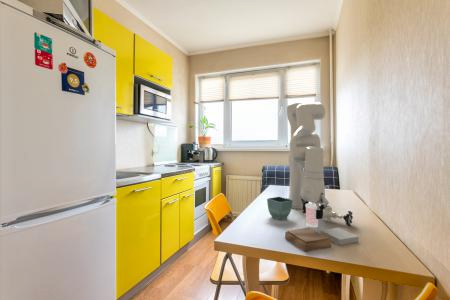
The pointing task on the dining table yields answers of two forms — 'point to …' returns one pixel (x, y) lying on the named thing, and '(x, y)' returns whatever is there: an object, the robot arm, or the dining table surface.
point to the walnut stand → (308, 239)
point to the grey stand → (340, 236)
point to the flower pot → (279, 207)
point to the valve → (336, 215)
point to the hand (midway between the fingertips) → (312, 215)
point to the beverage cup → (311, 215)
